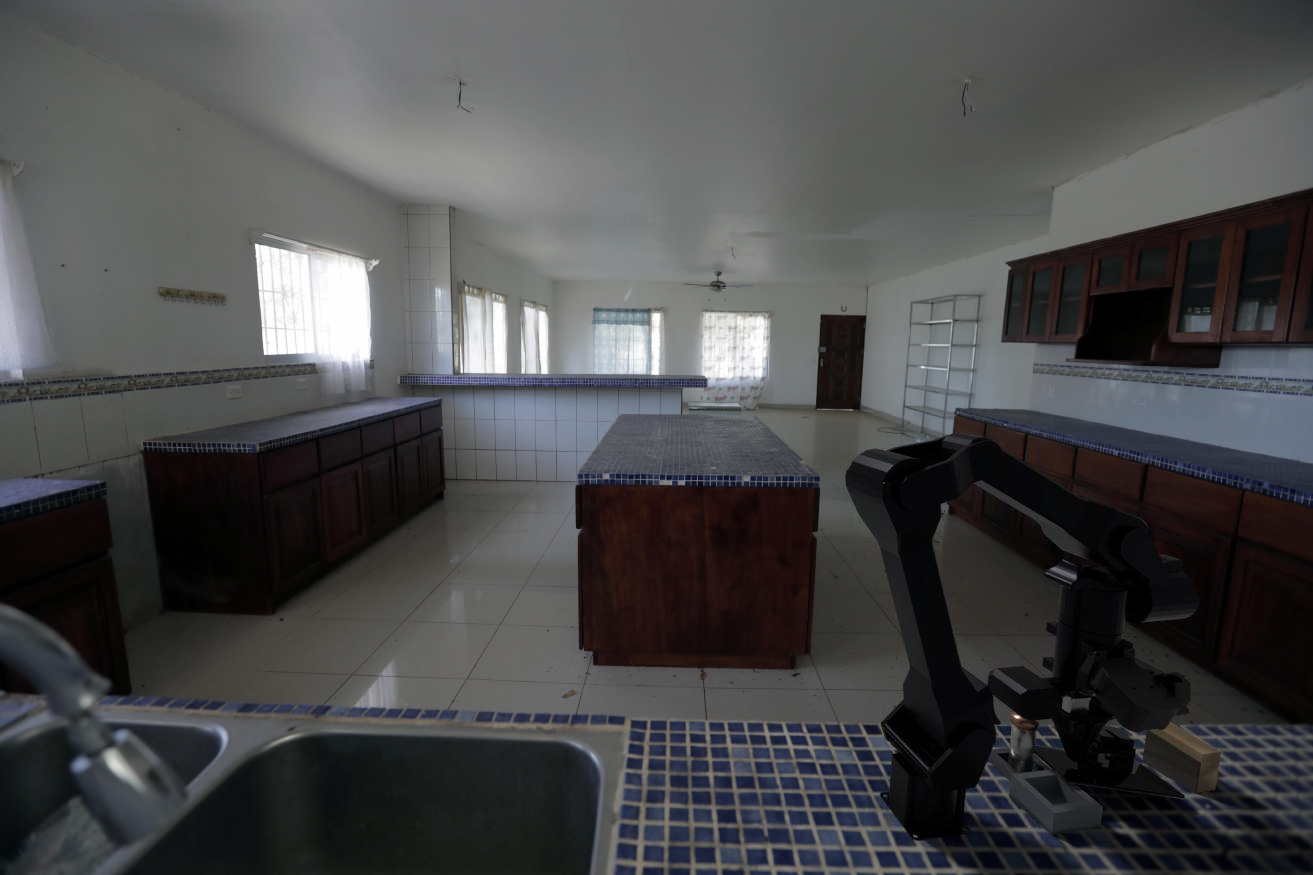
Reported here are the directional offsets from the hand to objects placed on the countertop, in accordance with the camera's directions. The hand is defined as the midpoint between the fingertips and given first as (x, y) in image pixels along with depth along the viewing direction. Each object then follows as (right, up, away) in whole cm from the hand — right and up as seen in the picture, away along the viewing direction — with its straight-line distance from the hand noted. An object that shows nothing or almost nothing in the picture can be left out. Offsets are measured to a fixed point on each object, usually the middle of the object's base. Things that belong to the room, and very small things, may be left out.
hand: (1073, 759), depth 65 cm
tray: (-4, -4, -3) cm, 6 cm away
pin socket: (-4, -3, +4) cm, 6 cm away
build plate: (+4, -4, 0) cm, 6 cm away
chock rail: (+14, -4, +3) cm, 15 cm away
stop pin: (-4, -3, +4) cm, 6 cm away
